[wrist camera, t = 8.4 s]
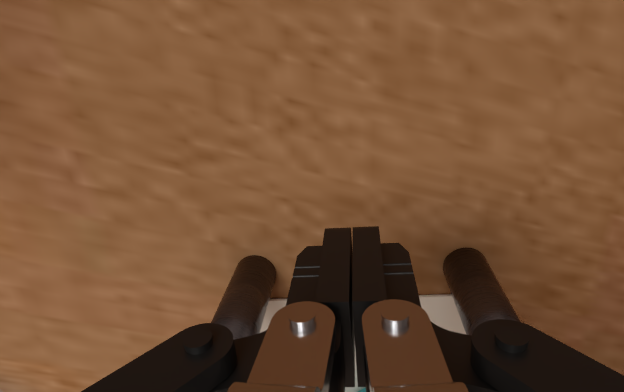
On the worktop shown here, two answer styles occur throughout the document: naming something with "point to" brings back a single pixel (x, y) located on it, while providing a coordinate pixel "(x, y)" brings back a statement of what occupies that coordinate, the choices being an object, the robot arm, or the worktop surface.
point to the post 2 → (475, 289)
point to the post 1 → (246, 297)
